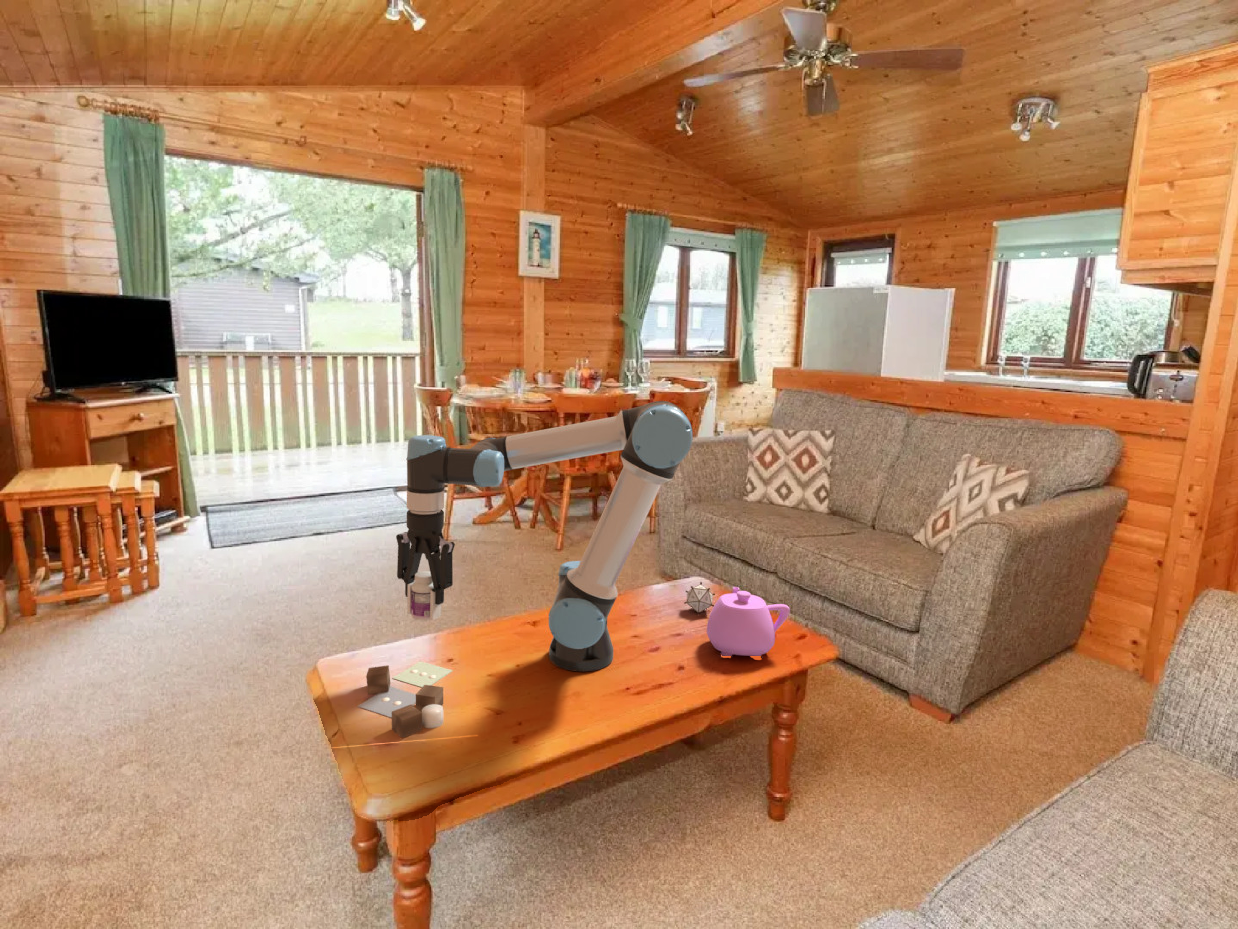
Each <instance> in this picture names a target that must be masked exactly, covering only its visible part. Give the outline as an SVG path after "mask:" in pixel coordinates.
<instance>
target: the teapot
mask: <svg viewBox="0 0 1238 929" xmlns="http://www.w3.org/2000/svg"><path fill="white" fill-rule="evenodd" d="M790 610H791V609H790V607H789V606H788V605H787V604H784V603H776V604H775V603H774V604H769V605H767V603H766V601H765V600H764V599H763V598H762V597H760V596H758V595H754V594H751V592H748V591H747V590H740V587H738V586H733V587H732V592H731V593H725V594H722V595H721V596H720V597H719V598H718V599H717V601H716V602H715V603H714V607H713V606H712V609H711V611H710V614H709V618H708V619H707V625H706V635H707V637H708V640H709V641H710V643H711V644H712V646H713V648H715V649H716V650H717V651H719V652H720V654H721V655H722V656H732V655H733V656H734V655H736V656H746V657H747V656H749V657H750V656H762V655H765V654H767V653H768V652H769V651H770V650H771V649H772V648H773V647H774V645H775V643H776V632H777V630H778V629H780V627H781V626H782V625H783V624H784V623H785V621H786V620H787V619H788V617H789V616H790ZM770 611H780V612H779V615H778V618H777V620H776V621H775V622H774V620H773V617H772V614H771V612H770ZM733 656H732V657H733Z"/></svg>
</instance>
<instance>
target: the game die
mask: <svg viewBox="0 0 1238 929" xmlns="http://www.w3.org/2000/svg"><path fill="white" fill-rule="evenodd" d="M710 590H711V588H710V587H708V588H707V587H705V586H704V585H703V582H702V581H700V583H699V584H698V585H696V586H693V585H691V586H690V589H689V591H688V590H685V593H687V594H686V595H687V596H686V601H684V602H683V604H684V605H685V604H687V605H688V606H689V608H690V607H692V608H691V609H693V610H694V611H695V612H696V613H698V612H700V613H702V612H704V611H706V610H707V608H708V609H710V607H712V608H713V607H714V606H715V604H713V598H714V597H713V596H716V593H712V592H711V591H710ZM705 609H706V610H705ZM703 610H704V611H703Z"/></svg>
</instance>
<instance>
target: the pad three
mask: <svg viewBox="0 0 1238 929" xmlns="http://www.w3.org/2000/svg"><path fill="white" fill-rule="evenodd" d="M453 671H454V670H452V669H450V668H446V667H441V666H438V665H436V664H433V663H428V662H424V661H422V660H421V661H420V660H419V662H417V663H415V664H414V665H411V666H410V667H409V668H407V669H405V670H403V671H402V672H399V674H397V675H395V676H393V677H392V680H396V681H399V682H401V683H406V684H409V685H412V686H415V687H419V688H420V689H421V688H422V687H423V686H424V685H431V686H434V684H436V683H437V682H438V681H440V680H442V679H444V677H447V675H450V674H451V673H452V672H453Z"/></svg>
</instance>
